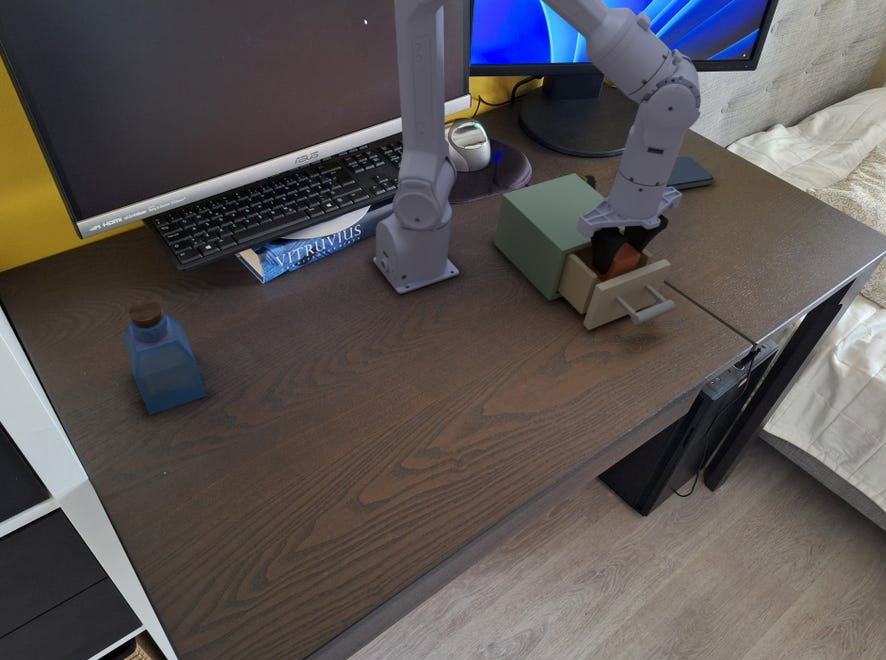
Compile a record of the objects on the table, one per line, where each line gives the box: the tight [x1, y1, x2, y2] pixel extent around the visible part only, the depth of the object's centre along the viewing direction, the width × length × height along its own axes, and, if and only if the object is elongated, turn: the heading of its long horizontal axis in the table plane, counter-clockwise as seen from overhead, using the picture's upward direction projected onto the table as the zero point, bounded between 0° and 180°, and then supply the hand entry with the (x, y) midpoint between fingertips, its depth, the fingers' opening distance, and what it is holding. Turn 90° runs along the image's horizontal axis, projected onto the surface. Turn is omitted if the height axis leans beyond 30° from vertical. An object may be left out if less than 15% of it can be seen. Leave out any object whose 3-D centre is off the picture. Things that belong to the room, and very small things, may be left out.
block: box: [589, 242, 641, 282], centre depth 85 cm, size 4×4×4 cm
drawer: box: [557, 234, 676, 331], centre depth 87 cm, size 17×11×7 cm, turn 30°
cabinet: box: [494, 172, 625, 302], centre depth 93 cm, size 14×13×9 cm
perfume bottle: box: [122, 298, 207, 416], centre depth 72 cm, size 6×6×12 cm
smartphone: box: [666, 155, 714, 191], centre depth 112 cm, size 8×2×15 cm
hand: (612, 264), depth 86 cm, fingers closed on block, 4 cm apart
